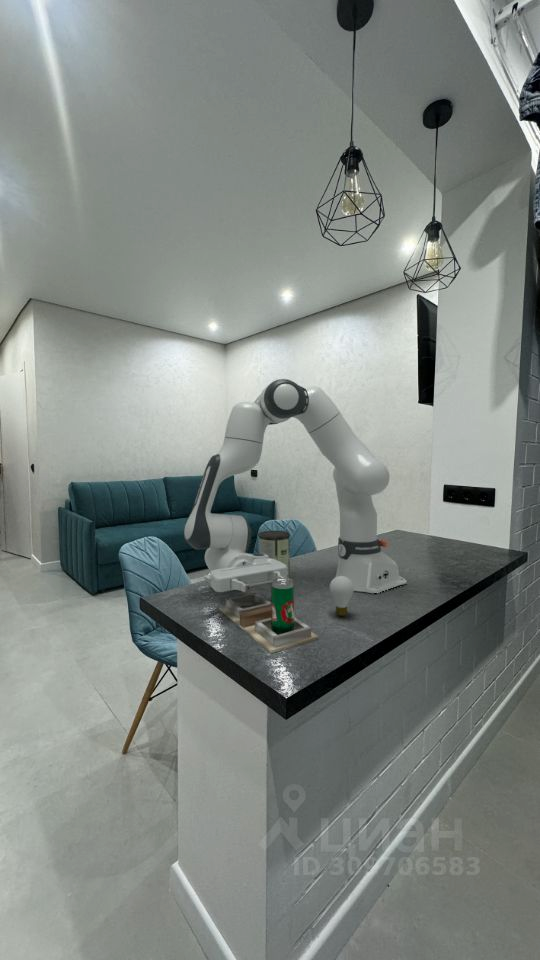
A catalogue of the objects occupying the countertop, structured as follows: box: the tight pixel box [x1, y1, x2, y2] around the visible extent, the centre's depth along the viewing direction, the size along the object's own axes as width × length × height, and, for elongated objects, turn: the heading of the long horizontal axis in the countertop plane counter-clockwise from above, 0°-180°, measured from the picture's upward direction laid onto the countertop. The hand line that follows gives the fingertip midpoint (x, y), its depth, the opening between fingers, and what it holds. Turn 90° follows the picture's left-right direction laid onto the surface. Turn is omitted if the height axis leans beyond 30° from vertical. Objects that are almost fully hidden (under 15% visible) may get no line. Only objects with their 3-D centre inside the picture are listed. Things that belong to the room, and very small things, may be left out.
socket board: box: [218, 592, 319, 654], centre depth 93 cm, size 26×12×3 cm, turn 31°
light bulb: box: [329, 576, 355, 617], centre depth 97 cm, size 6×6×10 cm
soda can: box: [270, 577, 295, 635], centre depth 86 cm, size 5×5×12 cm
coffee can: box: [258, 530, 291, 578], centre depth 129 cm, size 10×10×14 cm
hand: (264, 584), depth 93 cm, fingers open, 8 cm apart
